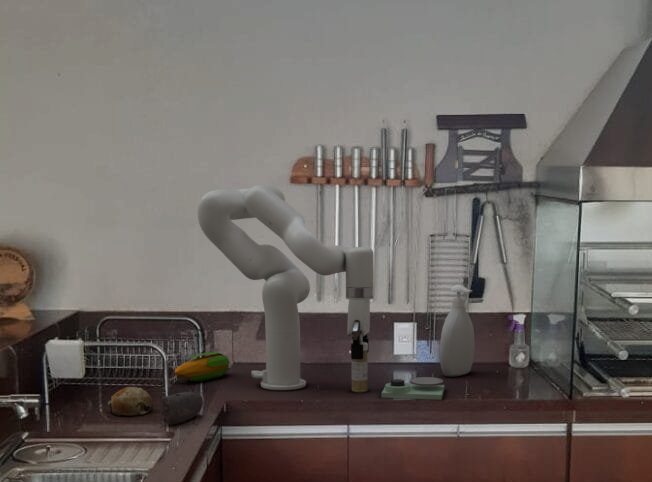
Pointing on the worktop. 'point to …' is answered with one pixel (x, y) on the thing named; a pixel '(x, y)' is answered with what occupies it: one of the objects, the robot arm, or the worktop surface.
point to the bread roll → (131, 402)
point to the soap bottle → (457, 338)
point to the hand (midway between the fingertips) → (360, 355)
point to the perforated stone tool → (180, 407)
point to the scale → (413, 391)
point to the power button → (397, 382)
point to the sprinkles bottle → (360, 372)
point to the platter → (426, 381)
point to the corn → (204, 367)
